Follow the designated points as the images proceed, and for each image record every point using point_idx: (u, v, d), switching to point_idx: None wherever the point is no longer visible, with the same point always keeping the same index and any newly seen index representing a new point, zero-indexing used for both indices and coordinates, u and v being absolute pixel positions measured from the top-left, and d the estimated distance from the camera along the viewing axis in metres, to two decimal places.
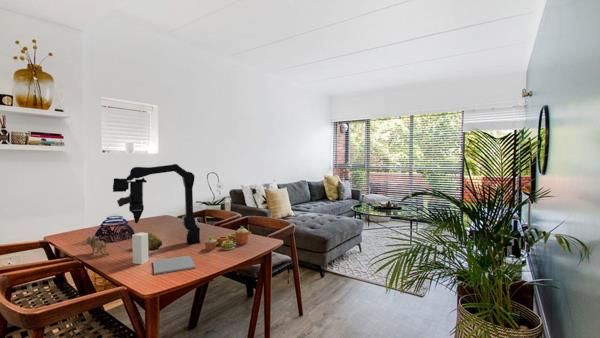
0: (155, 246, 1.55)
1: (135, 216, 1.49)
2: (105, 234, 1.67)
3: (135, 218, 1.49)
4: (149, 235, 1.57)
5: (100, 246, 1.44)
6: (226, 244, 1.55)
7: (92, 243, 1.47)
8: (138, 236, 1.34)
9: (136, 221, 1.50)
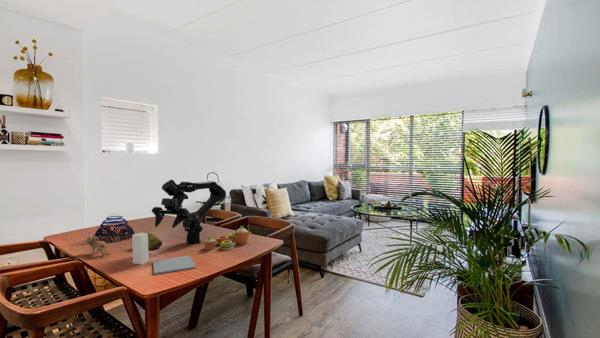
0: (155, 246, 1.55)
1: (177, 220, 1.48)
2: (105, 234, 1.67)
3: (176, 222, 1.47)
4: (149, 235, 1.57)
5: (100, 246, 1.44)
6: (225, 244, 1.56)
7: (92, 243, 1.47)
8: (138, 236, 1.34)
9: (173, 226, 1.46)
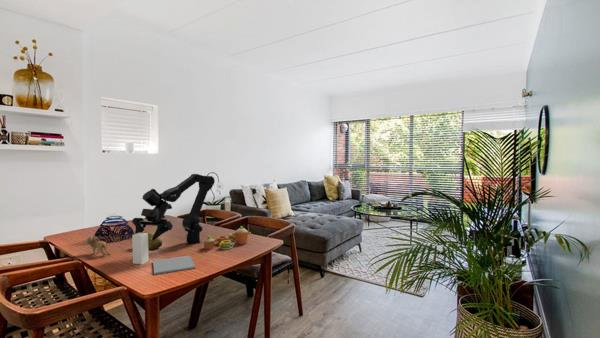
0: (155, 246, 1.55)
1: (158, 232, 1.40)
2: (105, 234, 1.67)
3: (156, 234, 1.39)
4: (149, 235, 1.57)
5: (101, 246, 1.43)
6: (224, 244, 1.56)
7: (92, 244, 1.46)
8: (138, 236, 1.34)
9: (153, 238, 1.38)
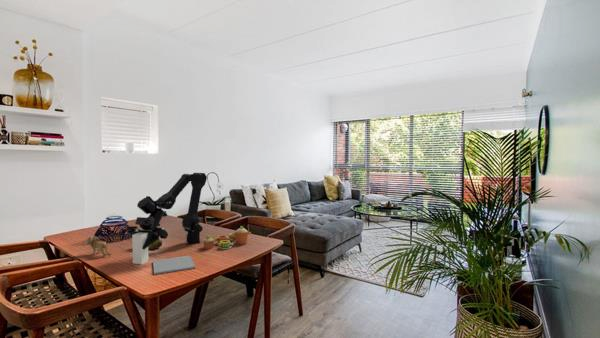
0: (155, 246, 1.55)
1: (148, 241, 1.37)
2: (105, 234, 1.67)
3: (147, 243, 1.36)
4: None
5: (102, 246, 1.43)
6: (223, 243, 1.56)
7: (92, 244, 1.46)
8: (138, 236, 1.34)
9: (144, 247, 1.35)
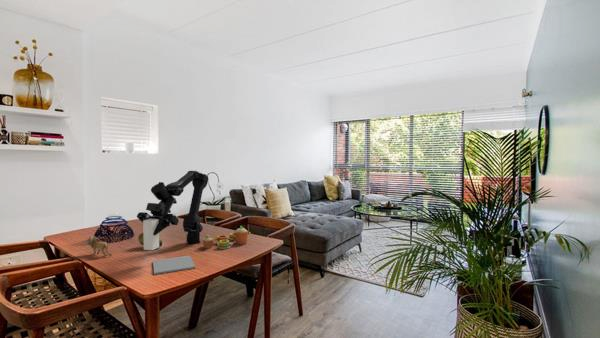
0: None
1: (159, 227, 1.35)
2: (104, 234, 1.67)
3: (158, 229, 1.34)
4: None
5: (102, 247, 1.43)
6: (222, 243, 1.57)
7: (93, 244, 1.46)
8: (149, 222, 1.32)
9: (155, 233, 1.34)
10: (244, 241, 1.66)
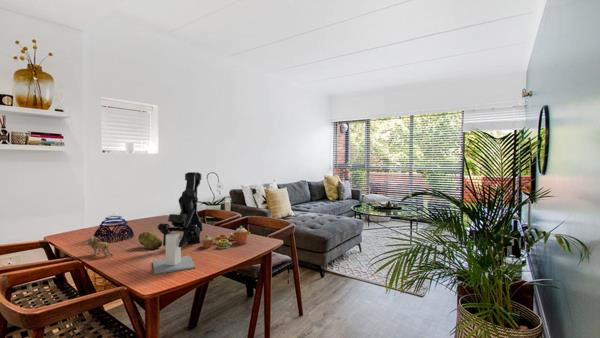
0: (155, 246, 1.55)
1: (184, 239, 1.32)
2: (104, 234, 1.67)
3: (183, 241, 1.32)
4: (149, 235, 1.57)
5: (103, 247, 1.43)
6: (221, 243, 1.58)
7: (93, 244, 1.45)
8: (172, 236, 1.30)
9: (180, 245, 1.31)
10: (244, 241, 1.67)
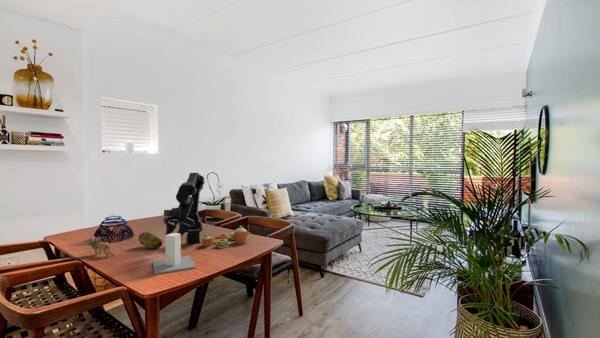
0: (155, 246, 1.55)
1: (180, 231, 1.41)
2: (104, 234, 1.67)
3: (179, 233, 1.41)
4: (149, 235, 1.57)
5: (105, 247, 1.42)
6: (219, 242, 1.59)
7: (94, 245, 1.45)
8: (171, 237, 1.30)
9: None
10: (243, 241, 1.67)
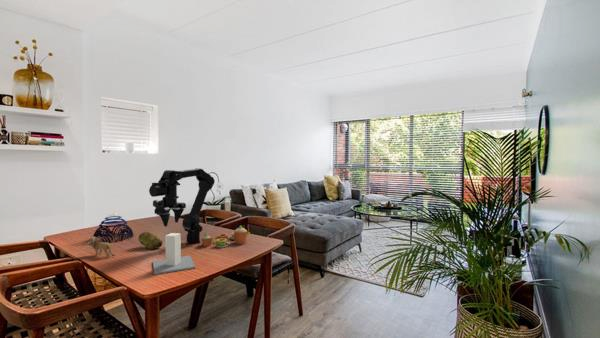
0: (155, 246, 1.55)
1: (163, 219, 1.49)
2: (104, 234, 1.67)
3: (163, 221, 1.50)
4: (150, 235, 1.57)
5: (105, 247, 1.42)
6: (218, 242, 1.59)
7: (95, 245, 1.44)
8: (171, 237, 1.30)
9: (165, 225, 1.50)
10: (243, 241, 1.67)
